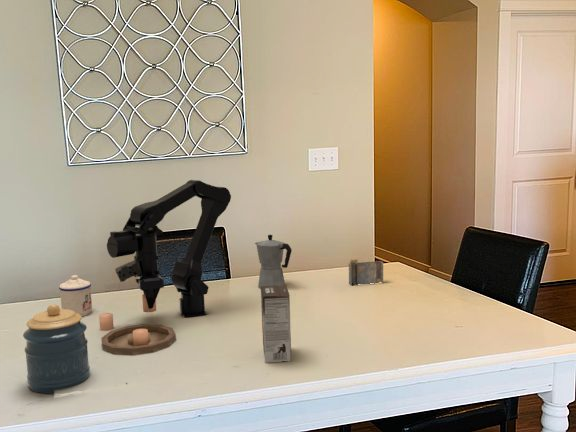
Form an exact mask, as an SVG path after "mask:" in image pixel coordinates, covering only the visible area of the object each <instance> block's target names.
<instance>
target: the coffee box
mask: <svg viewBox="0 0 576 432" xmlns="http://www.w3.org/2000/svg"><path fill="white" fill-rule="evenodd" d="M290 297H291V296H290V293H289V290H288V286H287V285H286V284H285V285H284V286H261V289H260V300H261V301H260V302H261V303H260V304H261V307H260V308H261V329H262V330H261V333H262V344H263V345H262V346H263V355H264V356H263V357H264V363H266V364H267V363H268V364H269V363H283V362H282V361H288V362H291V361H292V341H291V340H292V337H291V334H292V333H291V331H292V330H291V302H290V301H291V299H290Z"/></svg>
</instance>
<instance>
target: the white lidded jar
mask: <svg viewBox="0 0 576 432" xmlns="http://www.w3.org/2000/svg"><path fill="white" fill-rule="evenodd" d="M91 287H92V284H91V282H90V281H88V280H85V279H82V278H79V276H78V274H75V275H71V276H70V278H69V279H68V280H67V281H64V282H63V283H60V285H59V287H58V290H59V293H60V294H59V295H60V307H61V309H68V310H72V311H74V312H75V313H78V314H80V315H81V316H82V317H85V316H88V315H90V314H92V313H93V305H92V302H93V301H92V291H91Z"/></svg>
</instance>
